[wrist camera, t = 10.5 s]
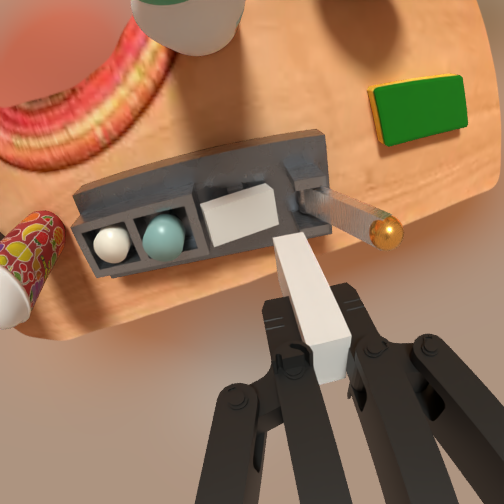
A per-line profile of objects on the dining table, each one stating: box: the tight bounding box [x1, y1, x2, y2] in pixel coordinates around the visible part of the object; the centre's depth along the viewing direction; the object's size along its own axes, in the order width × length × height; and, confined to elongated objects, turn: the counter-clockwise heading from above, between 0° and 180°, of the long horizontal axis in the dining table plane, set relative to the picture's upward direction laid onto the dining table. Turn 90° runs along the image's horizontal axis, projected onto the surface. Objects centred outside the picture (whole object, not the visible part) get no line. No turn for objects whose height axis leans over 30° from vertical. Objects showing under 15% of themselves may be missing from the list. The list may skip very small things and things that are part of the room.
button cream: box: [94, 222, 132, 263], centre depth 31 cm, size 4×4×2 cm
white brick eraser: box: [200, 183, 279, 247], centre depth 30 cm, size 7×4×2 cm, turn 101°
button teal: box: [142, 214, 185, 262], centre depth 29 cm, size 4×4×2 cm
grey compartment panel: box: [71, 129, 332, 278], centre depth 32 cm, size 28×12×7 cm, turn 100°
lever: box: [297, 186, 404, 251], centre depth 27 cm, size 3×3×13 cm
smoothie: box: [0, 211, 65, 329], centre depth 26 cm, size 8×8×20 cm
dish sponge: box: [367, 74, 468, 147], centre depth 29 cm, size 7×14×2 cm, turn 109°
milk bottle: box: [131, 0, 245, 56], centre depth 15 cm, size 8×8×20 cm
